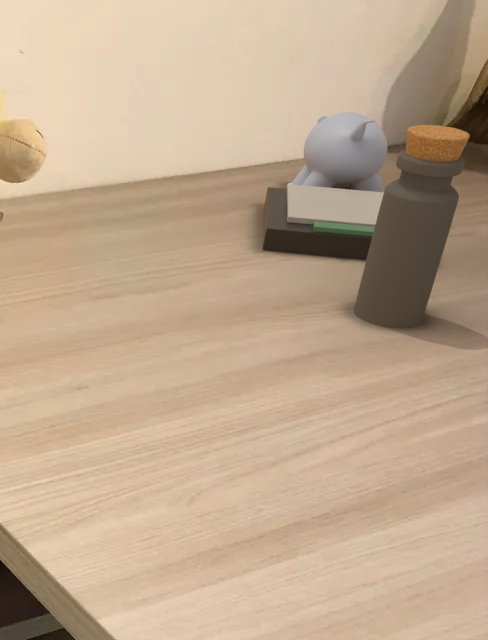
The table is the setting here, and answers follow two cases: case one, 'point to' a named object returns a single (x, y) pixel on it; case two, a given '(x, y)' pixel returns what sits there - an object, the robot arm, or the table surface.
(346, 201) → the scale
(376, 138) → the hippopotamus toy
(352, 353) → the table surface
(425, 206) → the bottle
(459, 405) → the table surface
